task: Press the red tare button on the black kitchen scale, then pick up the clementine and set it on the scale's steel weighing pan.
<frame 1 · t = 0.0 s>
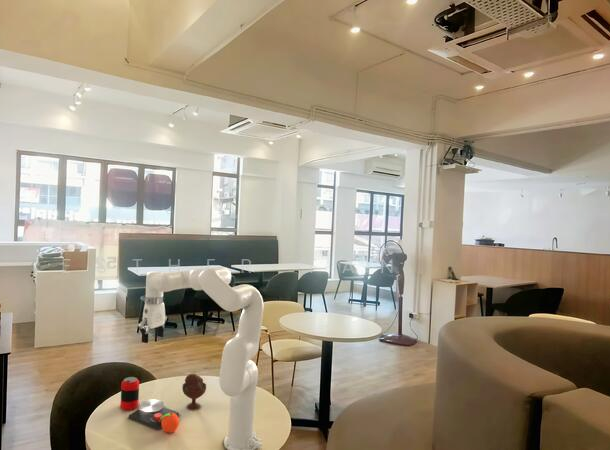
hand: (152, 339, 160), 31 cm above the table, tool pointing down, fingers open, 9 cm apart
tare button: (158, 417, 149), point 3 cm above the table, slide at 0.1 cm
soda can: (129, 406, 163), on the table
scale: (154, 416, 155), on the table
ice cream bowl: (193, 407, 165), on the table
clementine: (168, 431, 145), on the table
pan: (151, 407, 157), resting on scale
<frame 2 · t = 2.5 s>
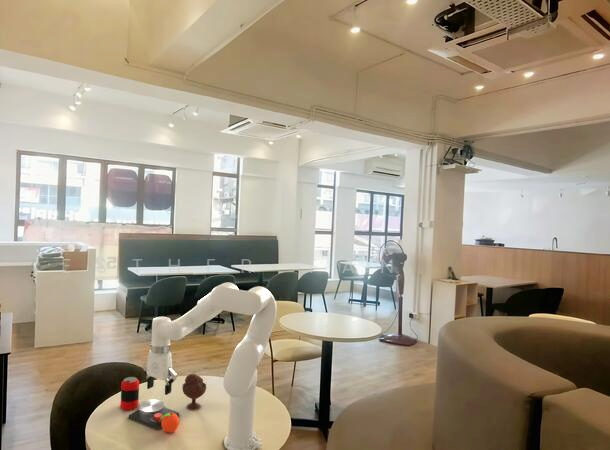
hand: (159, 390, 149), 14 cm above the table, tool pointing down, fingers open, 8 cm apart
nothing on the table moved.
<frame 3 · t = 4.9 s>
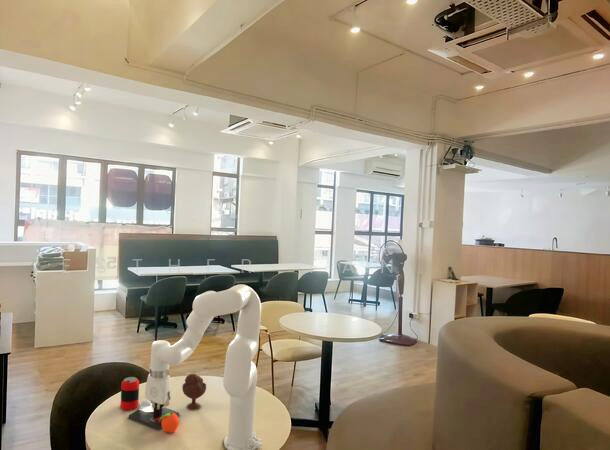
hand: (157, 417, 149), 3 cm above the table, tool pointing down, fingers closed
tare button: (157, 419, 149), point 3 cm above the table, slide at -0.7 cm, touching gripper
everything else where it was.
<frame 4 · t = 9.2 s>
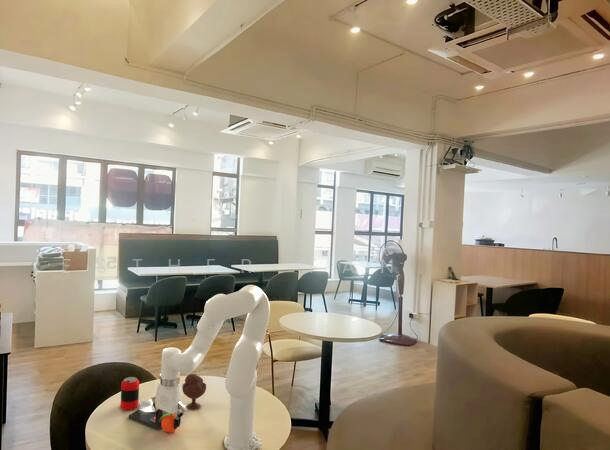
hand: (167, 423, 145), 3 cm above the table, tool pointing down, fingers open, 8 cm apart
clementine: (168, 431, 145), on the table, touching gripper
everything else where it was.
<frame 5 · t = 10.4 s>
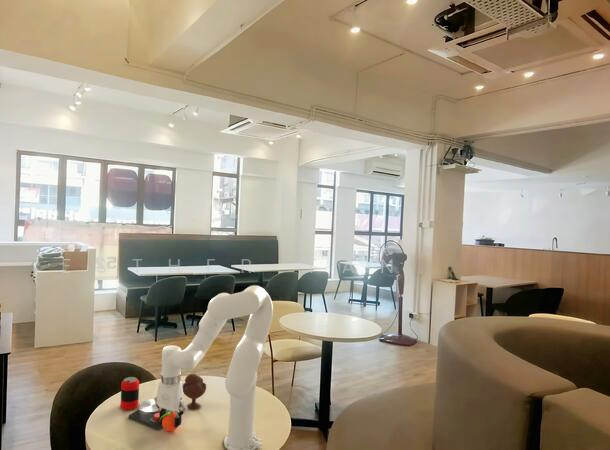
hand: (170, 422, 145), 3 cm above the table, tool pointing down, fingers closed on clementine, 7 cm apart
tare button: (158, 416, 149), point 3 cm above the table, slide at 0.2 cm
clementine: (169, 431, 145), on the table, touching gripper
everything else where it was.
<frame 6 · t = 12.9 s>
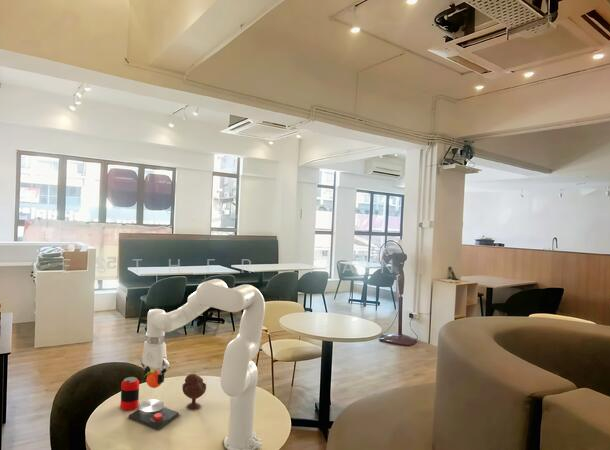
hand: (153, 380, 156), 15 cm above the table, tool pointing down, fingers closed on clementine, 7 cm apart
clementine: (153, 387, 156), point 12 cm above the table, touching gripper
everything else where it was.
when the fingers open (7 cm above the table, at t = 15.3 s): clementine stays where it is, resting on pan.
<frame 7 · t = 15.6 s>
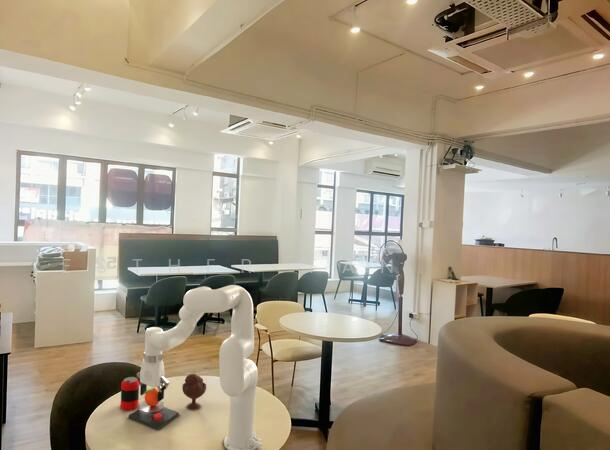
hand: (151, 397, 157), 7 cm above the table, tool pointing down, fingers open, 9 cm apart
clementine: (151, 405, 158), point 4 cm above the table, touching pan
everything else where it was.
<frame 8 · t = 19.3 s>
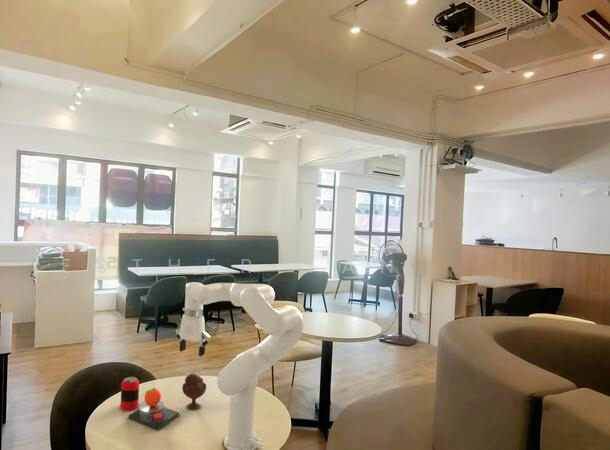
hand: (192, 353, 154), 28 cm above the table, tool pointing down, fingers open, 9 cm apart
nothing on the table moved.
at the end: tare button pushed in 1.0 cm at the most during the clip and back out by the end; clementine inside the target area on the scale (0.2 cm from its centre), point 3.6 cm above the scale's base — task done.
